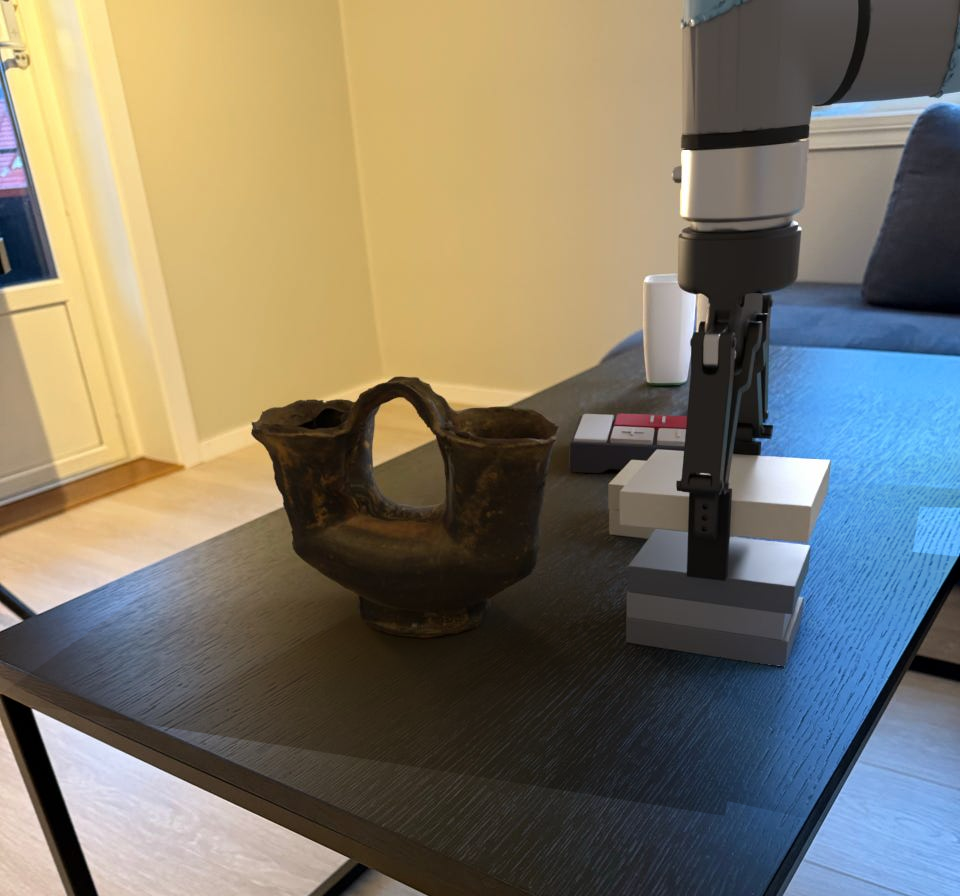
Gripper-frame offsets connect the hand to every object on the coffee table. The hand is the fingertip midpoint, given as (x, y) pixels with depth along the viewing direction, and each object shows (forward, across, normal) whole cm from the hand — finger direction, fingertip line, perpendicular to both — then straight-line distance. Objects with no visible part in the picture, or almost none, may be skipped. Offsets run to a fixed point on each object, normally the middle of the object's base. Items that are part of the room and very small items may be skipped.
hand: (723, 547), depth 69 cm
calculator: (+7, -39, -18) cm, 44 cm away
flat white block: (-3, 0, 0) cm, 3 cm away
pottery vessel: (+7, +4, -24) cm, 26 cm away
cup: (+8, -74, -24) cm, 78 cm away
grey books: (+7, 0, 0) cm, 7 cm away
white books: (+7, -20, -8) cm, 23 cm away
